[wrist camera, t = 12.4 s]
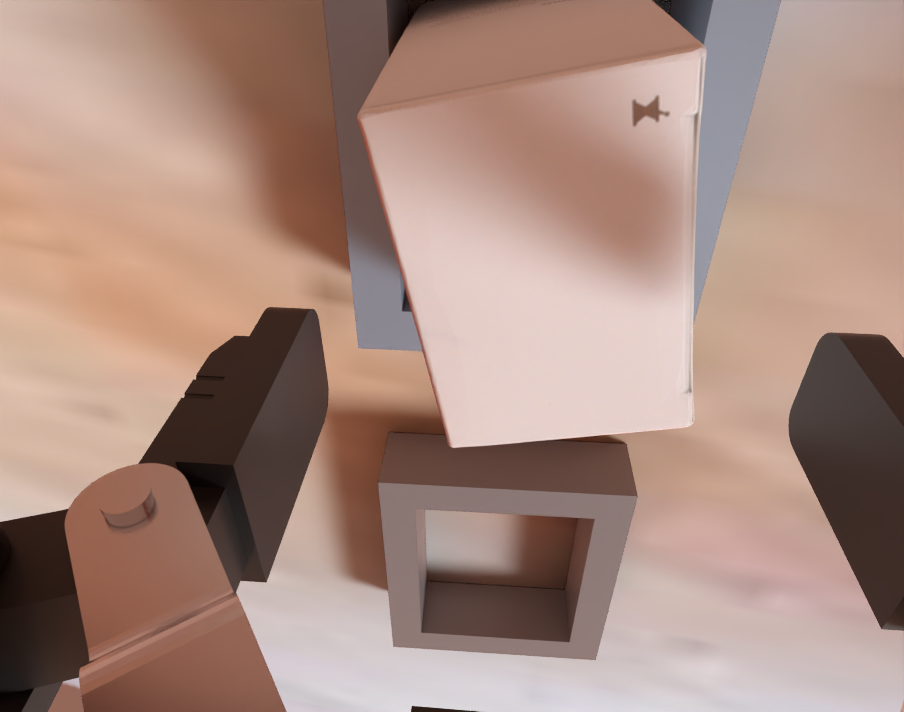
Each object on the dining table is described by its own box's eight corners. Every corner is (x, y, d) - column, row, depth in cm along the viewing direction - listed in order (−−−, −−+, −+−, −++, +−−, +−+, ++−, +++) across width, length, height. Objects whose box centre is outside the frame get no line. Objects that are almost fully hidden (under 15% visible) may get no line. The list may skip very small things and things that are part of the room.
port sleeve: (755, -125, 16) (815, -125, 13) (659, 296, 24) (683, 361, 21) (347, -126, 17) (310, -127, 14) (377, 286, 24) (358, 348, 21)
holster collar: (626, 444, 28) (637, 496, 26) (589, 607, 36) (595, 660, 33) (388, 432, 29) (378, 482, 27) (401, 595, 36) (393, 646, 34)
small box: (417, 0, 19) (344, 100, 10) (615, -41, 18) (713, 31, 9) (466, 247, 23) (443, 457, 15) (625, 225, 22) (697, 435, 14)
